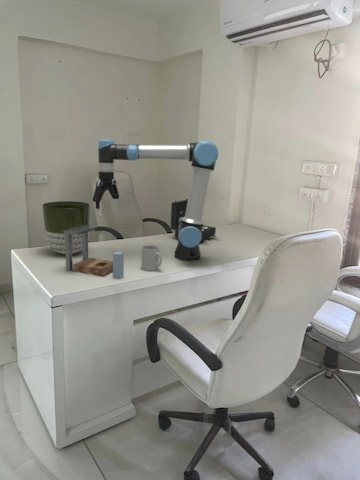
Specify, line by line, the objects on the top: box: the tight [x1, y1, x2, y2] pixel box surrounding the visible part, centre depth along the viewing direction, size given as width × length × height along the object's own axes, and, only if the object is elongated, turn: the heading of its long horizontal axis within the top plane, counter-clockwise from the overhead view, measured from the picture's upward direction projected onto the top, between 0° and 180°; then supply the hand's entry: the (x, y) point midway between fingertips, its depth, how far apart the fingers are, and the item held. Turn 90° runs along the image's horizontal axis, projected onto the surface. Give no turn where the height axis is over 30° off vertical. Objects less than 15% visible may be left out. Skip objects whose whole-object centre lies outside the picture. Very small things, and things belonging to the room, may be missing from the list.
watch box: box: [170, 198, 221, 243], centre depth 251 cm, size 26×28×24 cm
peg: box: [112, 251, 125, 280], centre depth 168 cm, size 4×4×12 cm
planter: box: [41, 200, 91, 255], centre depth 200 cm, size 24×24×27 cm
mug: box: [140, 244, 163, 272], centre depth 182 cm, size 12×8×11 cm
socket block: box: [73, 257, 113, 278], centre depth 177 cm, size 16×12×4 cm
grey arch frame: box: [63, 224, 99, 272], centre depth 177 cm, size 8×16×20 cm, turn 159°
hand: (106, 213), depth 190 cm, fingers open, 13 cm apart
